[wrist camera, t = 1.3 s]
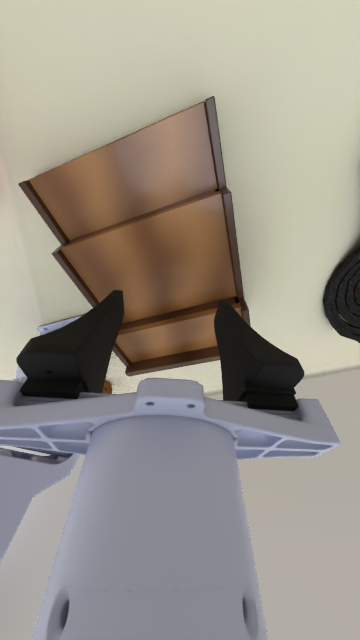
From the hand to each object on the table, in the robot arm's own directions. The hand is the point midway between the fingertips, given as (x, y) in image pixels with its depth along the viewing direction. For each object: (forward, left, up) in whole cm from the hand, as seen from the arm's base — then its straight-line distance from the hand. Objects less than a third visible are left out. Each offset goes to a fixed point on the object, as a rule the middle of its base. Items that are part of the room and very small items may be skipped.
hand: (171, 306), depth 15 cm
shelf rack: (-2, 0, -10) cm, 10 cm away
